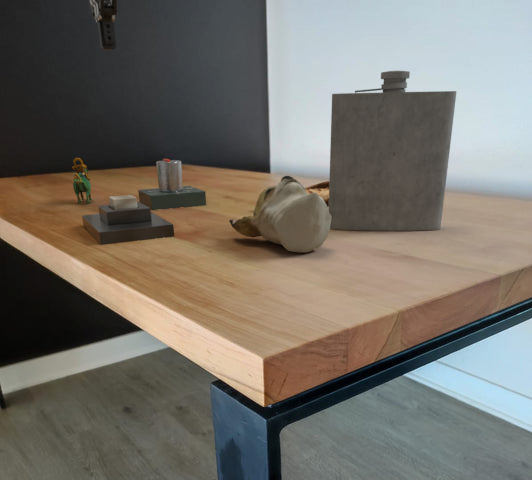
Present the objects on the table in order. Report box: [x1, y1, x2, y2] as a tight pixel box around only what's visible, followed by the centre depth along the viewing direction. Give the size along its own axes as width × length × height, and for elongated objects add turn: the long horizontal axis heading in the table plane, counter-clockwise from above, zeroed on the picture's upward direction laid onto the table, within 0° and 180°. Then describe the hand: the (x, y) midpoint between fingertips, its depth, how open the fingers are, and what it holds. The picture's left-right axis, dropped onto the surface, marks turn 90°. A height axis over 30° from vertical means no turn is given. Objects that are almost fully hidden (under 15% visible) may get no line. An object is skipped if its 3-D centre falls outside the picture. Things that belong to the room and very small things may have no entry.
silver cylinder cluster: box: [155, 158, 184, 192], centre depth 98 cm, size 4×4×5 cm
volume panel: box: [137, 185, 207, 211], centre depth 100 cm, size 10×9×3 cm
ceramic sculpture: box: [228, 175, 331, 254], centre depth 68 cm, size 11×9×15 cm
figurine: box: [71, 157, 94, 204], centre depth 102 cm, size 3×12×8 cm, turn 7°
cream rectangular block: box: [108, 194, 138, 210], centre depth 77 cm, size 3×3×2 cm
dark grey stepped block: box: [81, 201, 175, 246], centre depth 78 cm, size 10×14×4 cm
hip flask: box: [328, 70, 457, 232], centre depth 74 cm, size 16×4×20 cm, turn 83°
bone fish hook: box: [304, 180, 329, 206], centre depth 96 cm, size 9×5×18 cm
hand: (108, 49), depth 87 cm, fingers closed
